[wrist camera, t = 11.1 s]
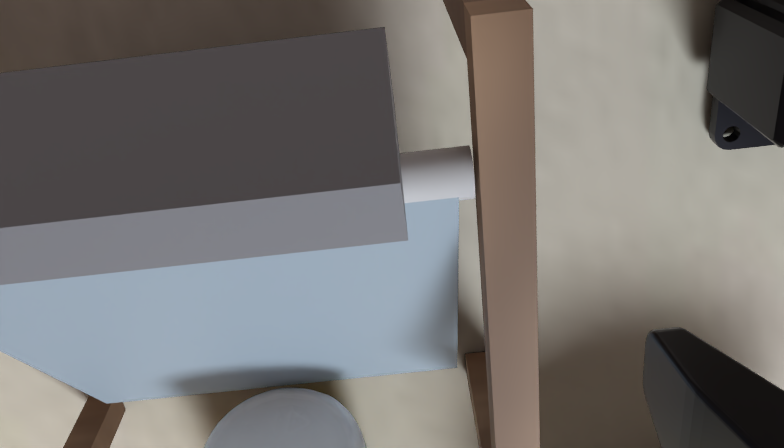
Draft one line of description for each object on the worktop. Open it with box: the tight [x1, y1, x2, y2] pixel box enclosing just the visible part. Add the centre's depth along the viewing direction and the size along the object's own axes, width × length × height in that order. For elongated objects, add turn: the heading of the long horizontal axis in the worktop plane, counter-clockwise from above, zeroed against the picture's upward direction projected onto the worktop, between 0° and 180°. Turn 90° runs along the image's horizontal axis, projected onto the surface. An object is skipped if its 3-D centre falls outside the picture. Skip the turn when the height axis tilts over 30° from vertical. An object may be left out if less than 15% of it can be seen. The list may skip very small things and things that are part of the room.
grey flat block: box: [0, 27, 475, 404], centre depth 18 cm, size 13×14×3 cm
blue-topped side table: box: [63, 0, 540, 448], centre depth 19 cm, size 15×15×8 cm
